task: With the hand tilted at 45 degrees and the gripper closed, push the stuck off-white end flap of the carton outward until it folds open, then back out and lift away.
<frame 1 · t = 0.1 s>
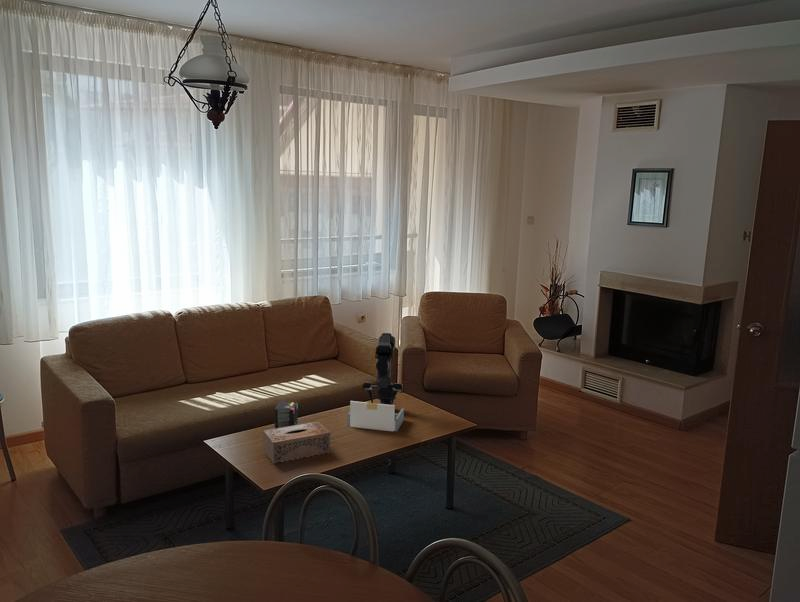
hand: (382, 404, 298), 15 cm above the table, tool pointing down, fingers open, 9 cm apart
carton: (376, 424, 314), on the table
tampon box: (286, 435, 299), on the table
tissue box cover: (296, 453, 280), on the table
flap: (372, 416, 305), point 7 cm above the table, hinge at 0.0°
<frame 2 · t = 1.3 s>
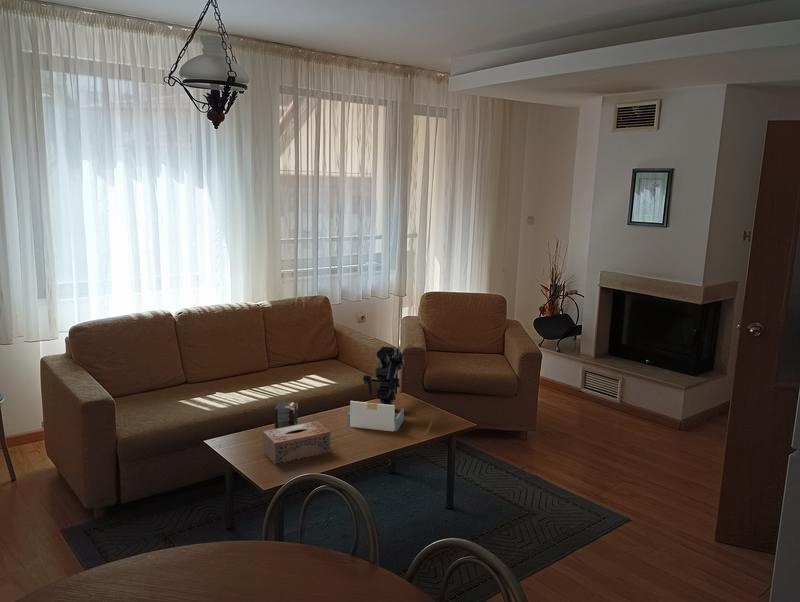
hand: (378, 396, 315), 13 cm above the table, tool tilted 45°, fingers open, 8 cm apart
nothing on the table moved.
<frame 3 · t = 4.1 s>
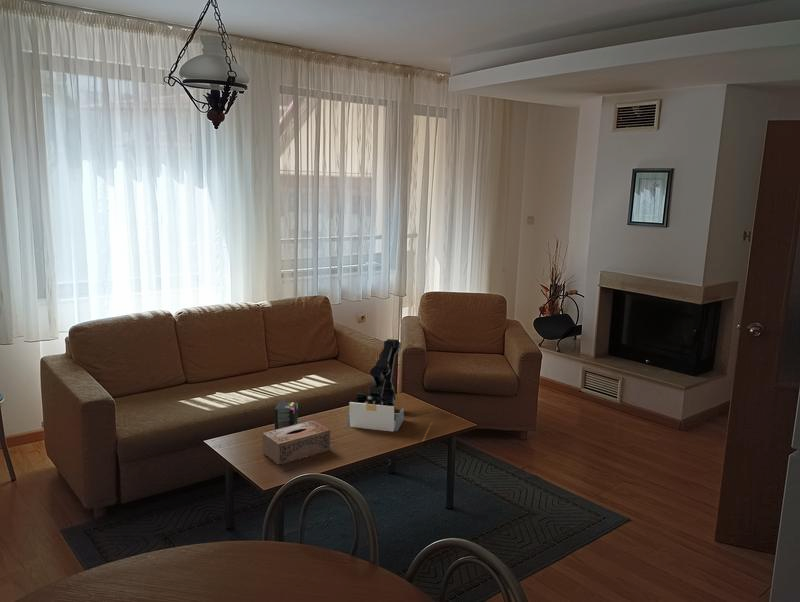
hand: (372, 415, 305), 8 cm above the table, tool tilted 45°, fingers closed, pressing on flap
flap: (371, 416, 304), point 7 cm above the table, hinge at 6.3°, touching gripper
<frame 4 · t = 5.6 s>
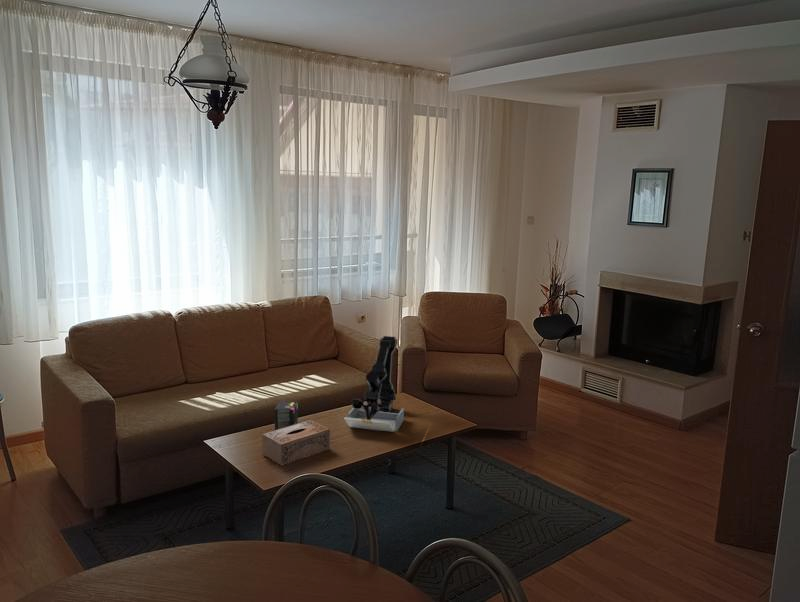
hand: (368, 421, 298), 7 cm above the table, tool tilted 45°, fingers closed, pressing on flap
flap: (369, 424, 301), point 5 cm above the table, hinge at 50.0°, touching gripper
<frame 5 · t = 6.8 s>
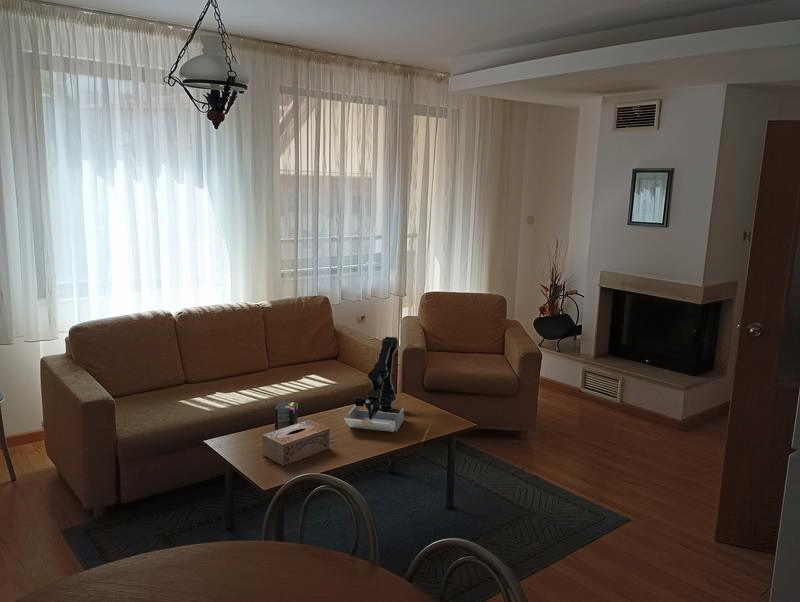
hand: (370, 419, 302), 7 cm above the table, tool tilted 45°, fingers closed
flap: (369, 425, 301), point 5 cm above the table, hinge at 51.7°
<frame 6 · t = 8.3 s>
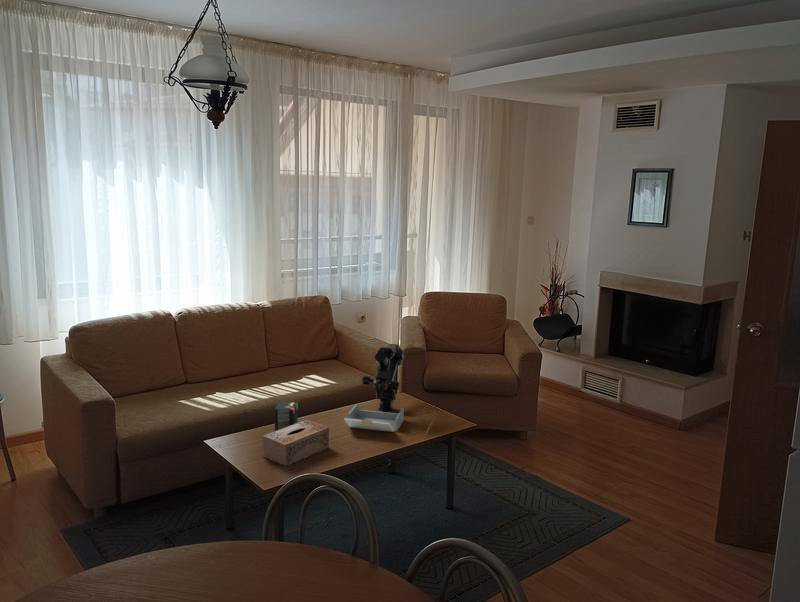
hand: (377, 398, 314), 13 cm above the table, tool tilted 40°, fingers closed
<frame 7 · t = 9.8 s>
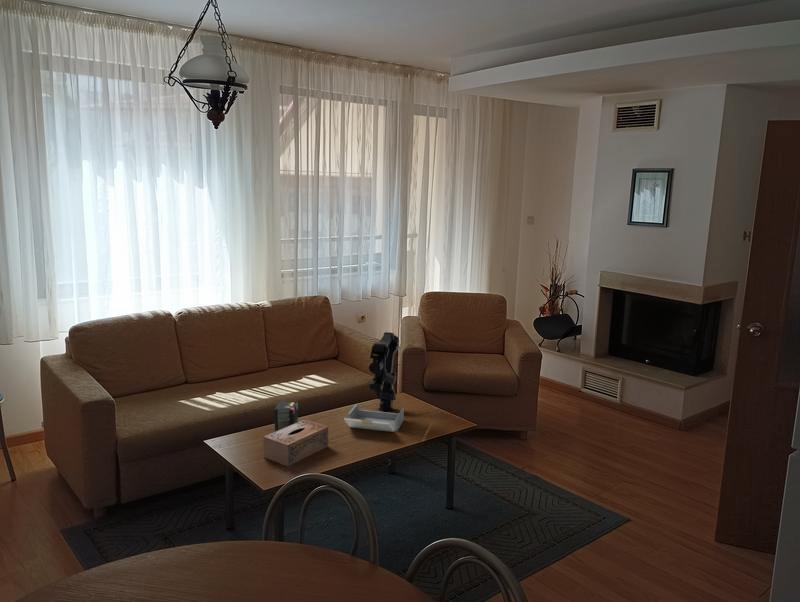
hand: (379, 397, 317), 12 cm above the table, tool pointing down, fingers closed
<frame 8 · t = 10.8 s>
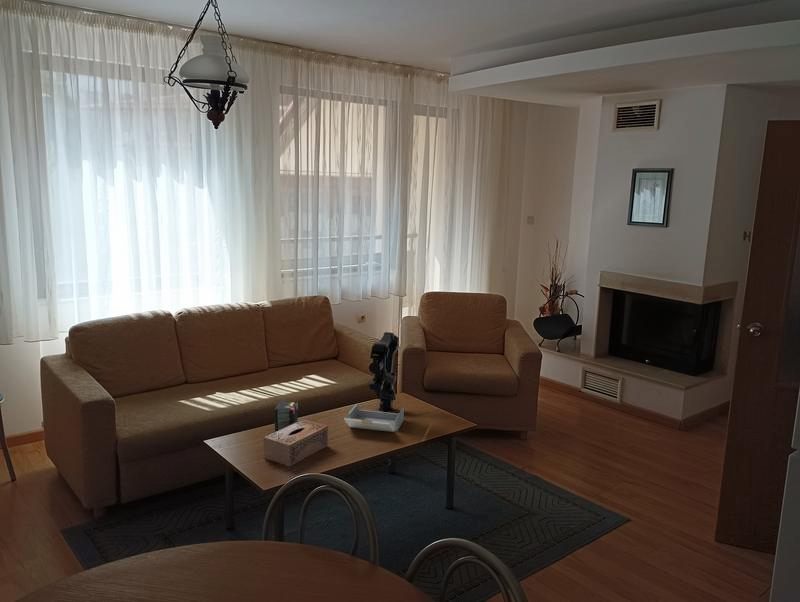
hand: (379, 397, 317), 12 cm above the table, tool pointing down, fingers closed
at the end: flap at +52° (first picture: +0°); tampon box moved 0.3 cm from its start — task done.
